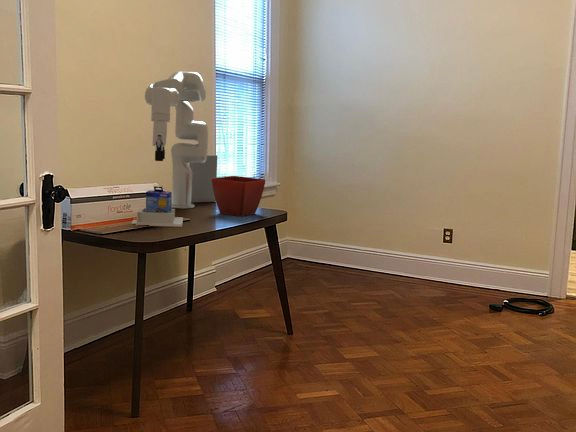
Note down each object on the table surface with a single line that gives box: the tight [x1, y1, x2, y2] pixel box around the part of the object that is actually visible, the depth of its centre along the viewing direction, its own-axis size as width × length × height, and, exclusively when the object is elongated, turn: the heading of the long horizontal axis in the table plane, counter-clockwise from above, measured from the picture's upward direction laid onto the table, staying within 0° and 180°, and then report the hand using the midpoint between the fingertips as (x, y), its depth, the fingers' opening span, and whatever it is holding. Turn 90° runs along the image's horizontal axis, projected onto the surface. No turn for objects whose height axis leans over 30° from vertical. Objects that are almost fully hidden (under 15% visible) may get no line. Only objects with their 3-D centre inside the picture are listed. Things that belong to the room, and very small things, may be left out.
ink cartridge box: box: [145, 185, 172, 213], centre depth 242 cm, size 10×6×14 cm, turn 88°
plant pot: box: [212, 175, 266, 217], centre depth 276 cm, size 19×19×17 cm
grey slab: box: [188, 154, 218, 204], centre depth 307 cm, size 14×6×25 cm, turn 123°
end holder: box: [131, 207, 184, 228], centre depth 244 cm, size 16×20×5 cm
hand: (159, 160), depth 240 cm, fingers open, 9 cm apart
